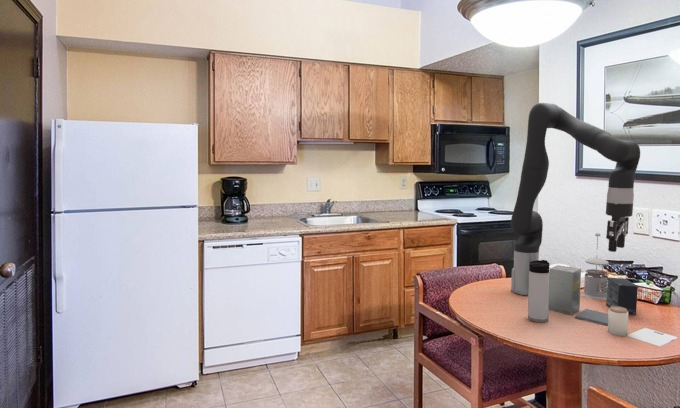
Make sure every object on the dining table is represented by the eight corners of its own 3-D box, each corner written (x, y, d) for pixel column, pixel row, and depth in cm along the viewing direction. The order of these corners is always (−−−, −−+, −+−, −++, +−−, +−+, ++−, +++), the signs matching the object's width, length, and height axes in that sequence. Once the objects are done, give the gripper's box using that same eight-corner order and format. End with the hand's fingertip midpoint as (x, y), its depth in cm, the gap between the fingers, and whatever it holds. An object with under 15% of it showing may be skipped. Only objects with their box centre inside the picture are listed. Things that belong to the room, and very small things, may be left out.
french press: (576, 294, 176) (578, 232, 173) (591, 289, 182) (594, 229, 180) (601, 301, 168) (604, 236, 165) (617, 295, 174) (620, 232, 172)
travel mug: (552, 319, 150) (554, 261, 148) (541, 324, 146) (542, 264, 144) (535, 314, 155) (536, 258, 153) (524, 318, 151) (525, 261, 149)
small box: (637, 315, 152) (639, 285, 151) (616, 314, 154) (618, 285, 153) (624, 305, 163) (626, 277, 162) (605, 304, 164) (606, 277, 163)
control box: (547, 308, 160) (548, 268, 159) (555, 304, 165) (556, 264, 163) (572, 314, 154) (573, 272, 152) (580, 310, 158) (581, 269, 157)
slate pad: (574, 317, 151) (574, 315, 151) (586, 310, 157) (586, 308, 157) (607, 325, 143) (607, 323, 143) (617, 318, 150) (618, 315, 150)
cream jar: (605, 332, 138) (606, 308, 137) (610, 328, 141) (612, 304, 141) (624, 337, 134) (625, 312, 133) (629, 332, 138) (630, 308, 137)
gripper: (613, 198, 154) (610, 244, 156) (599, 202, 144) (596, 250, 146) (639, 200, 149) (635, 248, 151) (626, 204, 139) (622, 254, 141)
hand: (616, 249), depth 148 cm, fingers open, 8 cm apart
